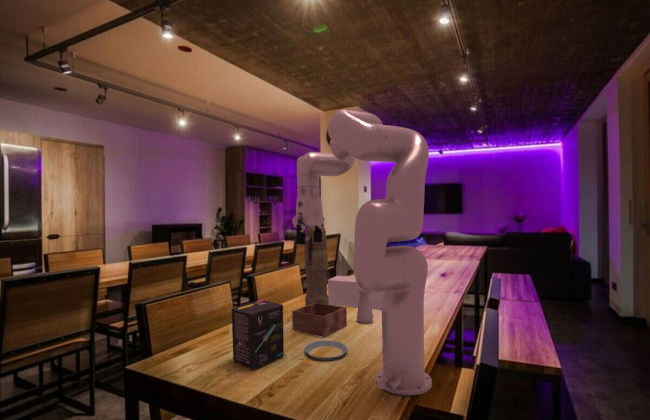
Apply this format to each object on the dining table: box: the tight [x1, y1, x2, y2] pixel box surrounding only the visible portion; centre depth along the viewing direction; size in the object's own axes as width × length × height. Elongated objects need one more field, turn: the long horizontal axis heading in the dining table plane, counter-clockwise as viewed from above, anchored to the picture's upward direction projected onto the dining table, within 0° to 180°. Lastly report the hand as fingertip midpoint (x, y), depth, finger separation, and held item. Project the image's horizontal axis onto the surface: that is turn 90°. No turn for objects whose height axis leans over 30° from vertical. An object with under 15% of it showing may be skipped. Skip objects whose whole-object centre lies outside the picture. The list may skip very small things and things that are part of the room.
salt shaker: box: [356, 287, 374, 324], centre depth 127 cm, size 6×6×13 cm
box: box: [291, 302, 348, 338], centre depth 121 cm, size 13×13×7 cm
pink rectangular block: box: [327, 275, 386, 311], centre depth 151 cm, size 32×11×11 cm, turn 66°
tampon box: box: [231, 299, 285, 371], centre depth 98 cm, size 11×9×15 cm
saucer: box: [304, 340, 348, 361], centre depth 100 cm, size 12×12×2 cm
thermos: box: [304, 225, 329, 307], centre depth 139 cm, size 9×12×35 cm
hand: (309, 243), depth 122 cm, fingers open, 9 cm apart
